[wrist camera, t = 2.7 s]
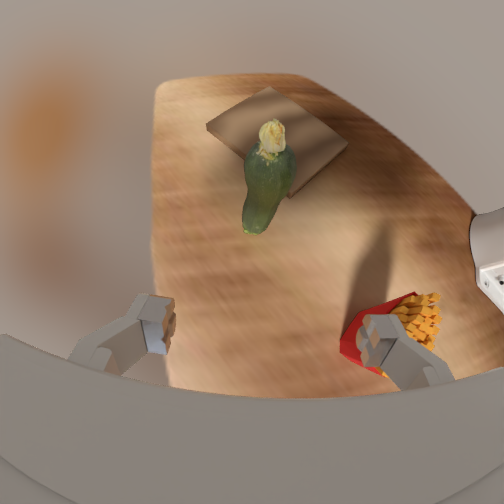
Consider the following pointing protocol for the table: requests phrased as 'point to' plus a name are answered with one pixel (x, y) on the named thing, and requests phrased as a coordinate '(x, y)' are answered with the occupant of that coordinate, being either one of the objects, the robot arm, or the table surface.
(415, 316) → the french fries
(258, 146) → the vegetable
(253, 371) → the table surface
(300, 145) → the cutting board
